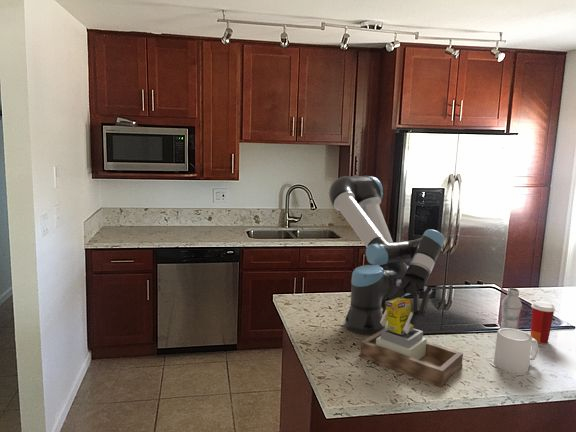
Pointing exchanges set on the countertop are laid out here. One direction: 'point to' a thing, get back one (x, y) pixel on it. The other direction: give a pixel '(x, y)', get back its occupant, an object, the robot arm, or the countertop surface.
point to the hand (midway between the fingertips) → (393, 327)
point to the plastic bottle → (511, 309)
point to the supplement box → (398, 315)
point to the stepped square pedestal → (404, 343)
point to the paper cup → (541, 321)
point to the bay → (416, 361)
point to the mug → (514, 350)
